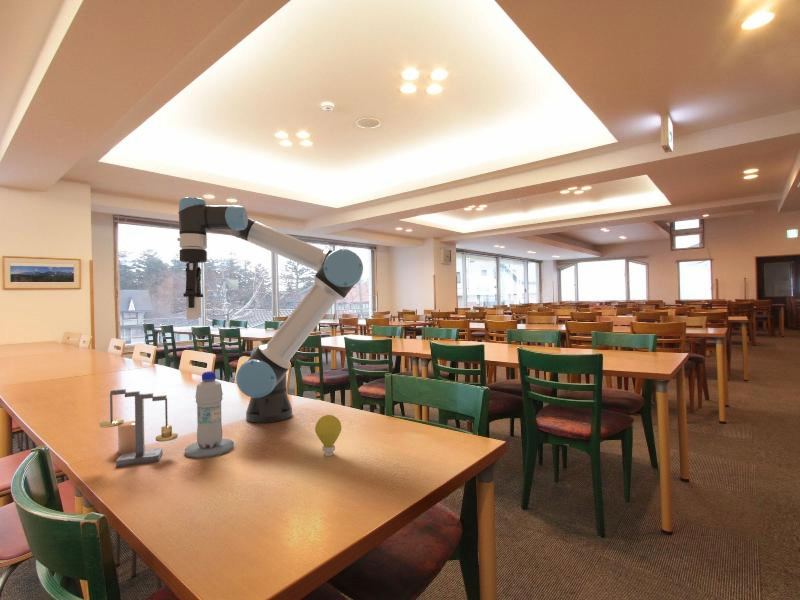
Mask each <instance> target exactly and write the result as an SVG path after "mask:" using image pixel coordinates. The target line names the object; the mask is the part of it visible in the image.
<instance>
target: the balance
mask: <svg viewBox="0 0 800 600" xmlns="http://www.w3.org/2000/svg"><path fill="white" fill-rule="evenodd" d="M117 395H124V398H132V397H134V421H135V437H136V451H132V452H124V453H120V455H119V456H118V457H117V459H116V461H115V467H116V468H119V467H127V466H134V465H136V466H137V465H142V464H149V463H150V464H151V463H157V462H159V461H160V459H161V457H162V455H163V451H164V450H163V447H158V448H149V449H145V403H144V402H145V400H146V399H152V400H151V401H152V402H159V401H164V405H165V406H164V408H165V409H164V411H165V413H164V415H165V425H163V426H161V428H160V429H161V430H160V431H161V433H160V434H159V435H157V436H155V441H156V442H160V443H161V442H169V441H173V440H176V439H178V437H179V433H176V432H173V425H171V424H168V422H169V421H168V397H167V394H165V395H164V394H162V395H154V392H153V393H152V392H151V393H141V391H140V390H137V391H127V389H126V388H125V389H122V388H121V389H111V390H110V392H109V406H110V407H109V410H110V411H109V413H110V415H109V417H110V419H109V420H105V421H102V422H100V423H99V425H98V426H99V427H100V428H114V427H118V426H119V425H121V424H123V423H124V422H125V421H124V420H125V419H121V418H119V419H118V418H115V419H114V417H113V415H114V414H113V411H114V410H113V408H114V407H113V403H114V402H113V396H117Z"/></svg>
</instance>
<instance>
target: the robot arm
mask: <svg viewBox="0 0 800 600" xmlns="http://www.w3.org/2000/svg"><path fill="white" fill-rule="evenodd" d="M178 223H179V224H178V230H179V231H178V233H179V237H178V238H177V239H176V240H177V241H178V242H179V248H181V249H179V261H180V262H181V263H185V266H186V268H185V276H186V277H185V278H186V279H185V291H184V293H183V297H184V298H186V300H185V301H186V303H185V304H186V320H198V318H202V298H204V293H202V283H201V280H202V268H201V267H200V266H199V264H202V263H203V264H205V263H206V262H208V254H207V253H208V251H207V250H206V249H207V248H208V243H207V242H208V241H207V240H208V239H207V238H208V237H207V231H225V232H226V233H228V234H230V235H232V236H233V237H236V238H238V239H241V240H243V241H245V242H249V243H251V244H253V245H255V246H258V247H260V248H263V249H265V250H267V251H270V252H272V253H274V254H277V255H279V256H281V257H284V259H285V258H286V259H287V260H290V261H293V262H295V263H298V264H299V265H302V266H305V267H307V268H309V269H310V270H314V271H316V273H315V275H314V276H313V278H314V284H313V285H312V287H311V288H309V291H307V293H306V294H305V295H304V297H303V298H302V299H301V301H299V303H298V304H297V306H295V308H294V309H293V311H292V312H291V313H290V314H289V315H288V317H287V318H286V319H285V321H283V323H282V324H281V326H280V327H279V328H278V330H277V331H276V332H275V334H273V336H272V337H271V338H270V339H269V341H268V342H267V343H266V344H260V345H259V346H258V347H257V348H256V349H255V350H251V352H250V356H249V358H248V359H247V361H244V363H242V364H241V365H240V366H239V369H238V370H237V373H236V380H235V381H236V385H237V387H238V389H239V391H240V392H241V393H243V395H245V396H247V397H249V398H250V399H249V402H248V404H247V409H246V412H245V420H246V421H247V422H250V423H263V424H264V423H265V424H266V423H275V422H279V421H283V420H287V419H289V418H291V417H292V416H293V407H292V404H291V401H290V398H289V396H288V393H287V390H288V388H287V384H288V383H287V372H288V371H289V370H290V369H291V362H290V360H291V359H292V358H293V356H294V355H295V354H296V353H297V352H298V350H300V348H301V346H302V345H303V344H304V343H305V342H306V340H307V339H308V337H309V336H310V335H311V334H312V332H313V331H314V330H315V328H316V327H317V326H318V325H319V323H320V322H321V321H322V320H323V318H324V317H325V316H326V315H327V313H328V312H329V311H330V310H331V308H332V307H333V305H334V304H335V303H336V301H338V300H343V299H344V300H345V298H346V296H348V295H349V293H350V291H351V290H352V289H353V288H354V286H356V284H358V282H359V281H360V280H361V278H362V275H363V272H364V264H363V261H362V259H361V258H360V256H359V255H357V253H355V252H354V251H352V250H350V249H346V248H339V249H336V250H332V249H327V250H324V249H321V248H319V247H317V246H315V245H312V244H310V243H308V242H306V241H303V240H301V239H299V238H296V237H294V236H291V235H290V234H286V233H284V232H282V231H281V230H278V229H276V228H273V227H271V226H268V225H266V224H263V223H261V222H260V221H257V220H255V219H252V218H250V217H248V212H247V209H246V208H245V207H244V205H235V204H231V205H227V204H226V205H224V204H223V205H220V204H219V205H208V204H207V201H206V200H205V199H203V198H200V197H192V196H184V197H181V198H180V200H179V201H178Z"/></svg>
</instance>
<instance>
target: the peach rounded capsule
mask: <svg viewBox="0 0 800 600" xmlns="http://www.w3.org/2000/svg"><path fill="white" fill-rule="evenodd" d="M117 450H118V451H117V452H118V453H119V454H122V453H124V452H132V451H136V437H135V420H131V421H124V423H123V424H121V425H119V426H117Z"/></svg>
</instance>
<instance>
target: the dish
mask: <svg viewBox="0 0 800 600" xmlns="http://www.w3.org/2000/svg"><path fill="white" fill-rule="evenodd" d="M234 447H235V441H234V440H232V439H229V438H222V441H221V443H220V444H219V445H218V446H215V444H214V446H213V448H210V446H209V445H207V446H206V448H205V449H204V448H202V447H199V446H198V444H197V441H195V442H194V443H191V444H189V445H188V446H186V447H185V448H184V455H185V456H186V457H188V458H192V459H206V458H207V459H208V458H213V457H218V456H221V455H224V454H227V453H229V452H230V451H232V450H233V449H234Z"/></svg>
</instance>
